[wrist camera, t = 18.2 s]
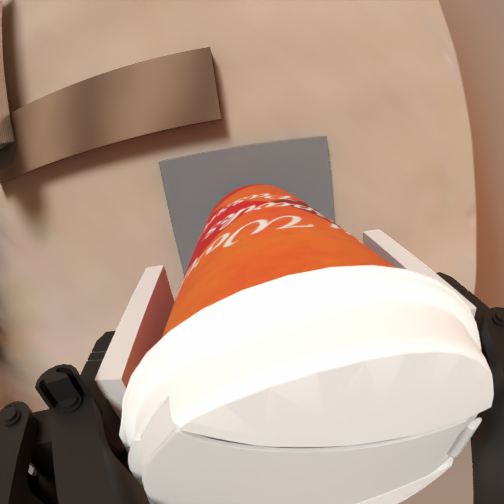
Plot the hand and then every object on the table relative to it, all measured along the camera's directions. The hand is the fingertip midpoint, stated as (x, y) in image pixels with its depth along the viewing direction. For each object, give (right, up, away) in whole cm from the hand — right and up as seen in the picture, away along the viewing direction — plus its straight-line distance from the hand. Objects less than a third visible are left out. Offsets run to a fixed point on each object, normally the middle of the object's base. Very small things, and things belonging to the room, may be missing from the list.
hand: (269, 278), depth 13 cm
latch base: (-11, +10, +4) cm, 15 cm away
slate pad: (-1, +3, +7) cm, 8 cm away
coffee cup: (0, +2, +6) cm, 6 cm away
